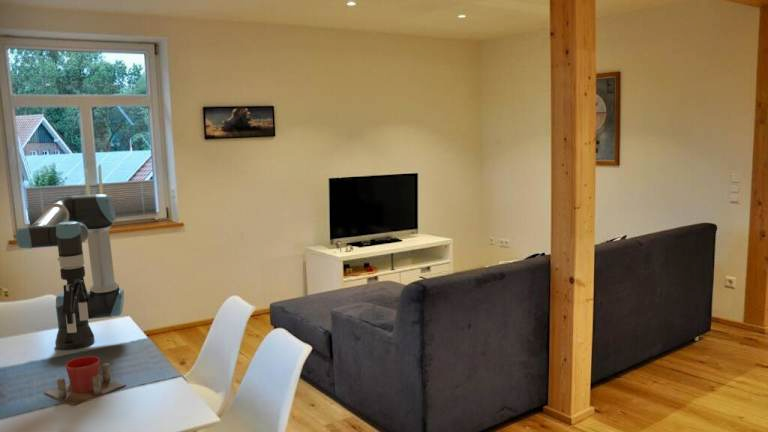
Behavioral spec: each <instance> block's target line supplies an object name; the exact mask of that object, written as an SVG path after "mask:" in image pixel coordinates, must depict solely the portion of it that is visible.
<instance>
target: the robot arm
mask: <svg viewBox="0 0 768 432" xmlns="http://www.w3.org/2000/svg"><path fill="white" fill-rule="evenodd" d="M116 219H117V218H116V211H115V206H114V202H113V200H112V198H111V196H109V195H108V194H105V193H104V194H100V193H95V194H82V195H81V194H80V195H67V196H64V197H61V198H59V199H56V200H54V201H52V202H50V203H49V204H48V205H47V206H46V207H44V210H43V211H42V214H41V216H39V218H37V219H36V220H35V221H34V223H33V224H32V225H31V226H24V227H23V226H21V227H18V228H17V230H16V234H15V235H16V236H15V238H16V240H15V241H16V244H17V246H18V247H19V248H20V249H35V248H37V249H38V248H39V249H40V248H49V247H57V251H58V258H57V261H58V262H59V267H60V270H59V272H60V279H61V280H63V281H66V284H64V285H63V292H61V293H60V294H59V293H58V295H57V296H55V309H56V319H57V326H58V327H57V328H58V329H57V334H56V337H55V341H54V342H55V343H54V345H55V348H56V349H58V350H63V351H64V350H76V349H80V348H85V347H87V346H90V345H92V344H93V343H94V342H95V334H94V332H93V330H92V329H91V326H90V324H89V320H91V319H92V320H93V319H103V318H113V317H119V316H120V315H122V313H123V310H124V304H125V302H124V301H125V292H124V289H123V288H120V285H119V283H117V282H116V281H115V280H116V279H115V272H114V265H113V264H114V263H113V256H112V255H113V253H112V245H111V239H110V228H112V226H113V222H115V221H116ZM86 240H87V246H88V254H89V255H88V256H89V262H90V263H89V264H90V270H91V278H92V279H91V280H92V285H91V287H89V291H87V287H86V283H85V279H84V278H85V276H86V271H85V268H86V267H85V266H84V265H85V259H84V251H83V243H85V242H86Z"/></svg>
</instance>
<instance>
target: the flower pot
mask: <svg viewBox="0 0 768 432" xmlns="http://www.w3.org/2000/svg"><path fill="white" fill-rule="evenodd" d="M100 361H101V360H100V357H97V356H82V357H81V356H80V357H76V358H74V359H71V360H69V361H67V362H66V364H65V368H66V373H67V376H68V379H69V380H70V381H69V383H71V386H72V389H73V391H74V392H87V391H90V390H93V380H92V377H93V376H96V375H99V374H100V373H99V371H100Z"/></svg>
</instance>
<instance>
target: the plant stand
mask: <svg viewBox="0 0 768 432" xmlns="http://www.w3.org/2000/svg"><path fill="white" fill-rule="evenodd" d="M101 371H102V375H101V374H98V375H96V376H93V377H92V380H93V390H90V391H87V392H74V391H73V389H72V386H71V383H70V380H69V383H67V384H66V379H65V378H64V377H63V378H59V379H57V380H56V385H57V387H55V388H51V389H49V390H46V391H44V394H45V395H47V396H49V397H50V398H54V399H56V400H58V401H60V402H63V403H64V404H67V405H69V406H71V407H75V406H78V405H80V404H83V403H85V402H88V401H91V400H93V399H97V398H99V397H100V396H104V395H107V394H109V393H112V392H115V391H117V390H119V389H122V388H125V387H127V384H126V383H122V382H120V381H116V380H114V379H112V378H111V370H110V363H103V364H101Z"/></svg>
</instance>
